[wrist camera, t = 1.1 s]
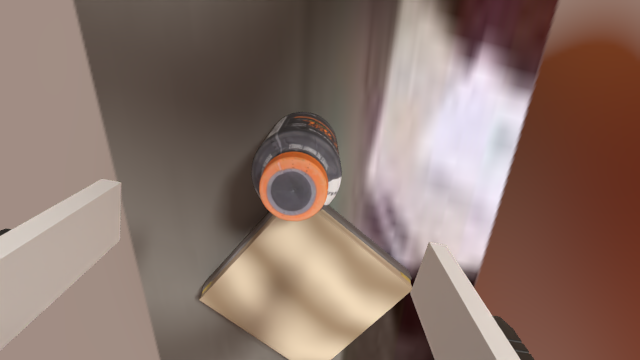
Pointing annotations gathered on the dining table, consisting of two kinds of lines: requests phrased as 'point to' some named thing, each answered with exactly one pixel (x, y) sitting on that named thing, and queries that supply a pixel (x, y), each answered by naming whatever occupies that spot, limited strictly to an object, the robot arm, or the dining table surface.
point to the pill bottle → (297, 167)
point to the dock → (306, 284)
